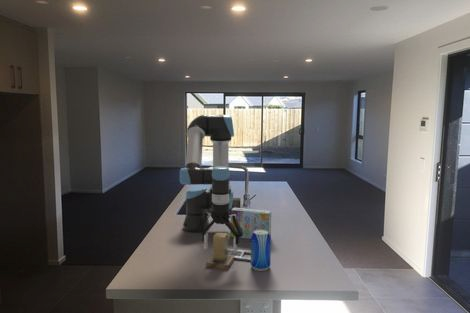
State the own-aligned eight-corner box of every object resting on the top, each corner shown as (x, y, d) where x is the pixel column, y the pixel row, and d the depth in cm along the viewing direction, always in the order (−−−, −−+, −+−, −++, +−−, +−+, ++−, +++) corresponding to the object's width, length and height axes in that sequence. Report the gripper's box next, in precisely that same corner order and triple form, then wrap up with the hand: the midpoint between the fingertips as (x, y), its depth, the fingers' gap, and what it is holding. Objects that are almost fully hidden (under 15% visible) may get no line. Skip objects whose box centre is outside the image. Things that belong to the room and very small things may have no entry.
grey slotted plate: (216, 257, 162) (216, 255, 162) (222, 249, 170) (222, 247, 170) (260, 262, 157) (260, 260, 157) (264, 254, 165) (264, 252, 165)
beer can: (249, 263, 156) (250, 228, 154) (268, 262, 157) (269, 228, 154) (252, 272, 148) (252, 235, 145) (271, 271, 148) (272, 235, 146)
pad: (205, 266, 152) (205, 262, 152) (213, 257, 162) (213, 253, 161) (228, 269, 150) (228, 264, 149) (234, 259, 159) (234, 255, 159)
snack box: (271, 238, 187) (271, 210, 185) (268, 241, 181) (269, 213, 179) (233, 233, 193) (233, 206, 191) (229, 236, 188) (230, 209, 186)
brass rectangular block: (213, 260, 154) (213, 236, 152) (216, 255, 158) (216, 232, 157) (224, 261, 152) (224, 237, 151) (227, 257, 157) (227, 233, 156)
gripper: (190, 202, 152) (190, 249, 154) (246, 207, 145) (245, 256, 148) (196, 198, 159) (197, 243, 162) (250, 202, 152) (249, 249, 155)
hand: (220, 249), depth 155 cm, fingers open, 13 cm apart
